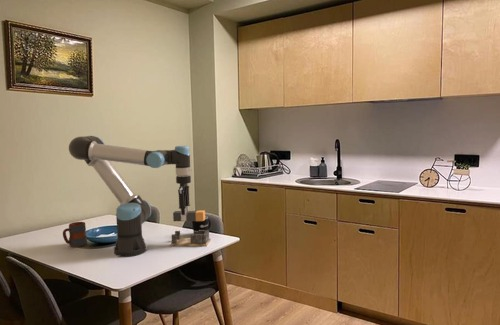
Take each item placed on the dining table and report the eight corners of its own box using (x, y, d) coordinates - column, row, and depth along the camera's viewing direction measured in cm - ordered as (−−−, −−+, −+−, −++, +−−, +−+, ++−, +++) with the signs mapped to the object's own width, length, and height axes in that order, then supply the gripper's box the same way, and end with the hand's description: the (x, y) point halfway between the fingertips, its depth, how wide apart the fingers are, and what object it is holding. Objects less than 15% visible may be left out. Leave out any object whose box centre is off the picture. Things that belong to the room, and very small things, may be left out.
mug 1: (59, 247, 195) (58, 225, 194) (81, 241, 204) (80, 220, 203) (68, 250, 190) (66, 227, 189) (90, 244, 199) (89, 222, 198)
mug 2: (199, 238, 208) (198, 220, 207) (189, 235, 214) (188, 217, 213) (215, 233, 217) (215, 216, 216) (205, 231, 223) (205, 214, 222)
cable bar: (173, 221, 197) (172, 212, 196) (175, 219, 201) (175, 210, 201) (203, 221, 195) (203, 212, 195) (205, 218, 200) (204, 210, 199)
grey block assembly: (170, 245, 195) (170, 234, 195) (175, 240, 205) (175, 229, 205) (206, 246, 194) (206, 235, 193) (210, 240, 204) (210, 229, 203)
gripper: (186, 177, 187) (187, 223, 189) (194, 173, 204) (195, 215, 206) (171, 177, 188) (173, 223, 190) (180, 173, 205) (182, 215, 207)
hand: (185, 219), depth 198 cm, fingers closed on cable bar, 4 cm apart
